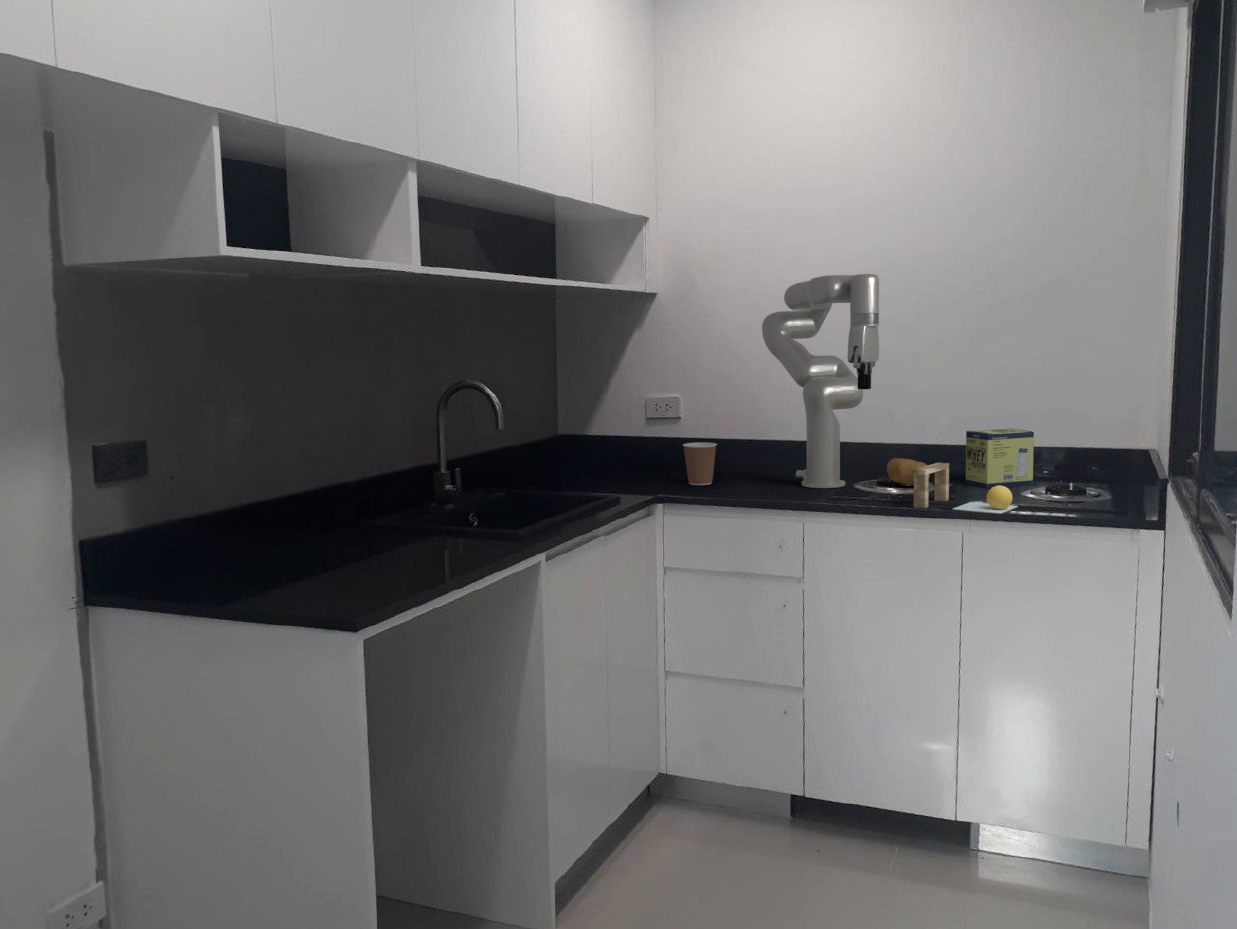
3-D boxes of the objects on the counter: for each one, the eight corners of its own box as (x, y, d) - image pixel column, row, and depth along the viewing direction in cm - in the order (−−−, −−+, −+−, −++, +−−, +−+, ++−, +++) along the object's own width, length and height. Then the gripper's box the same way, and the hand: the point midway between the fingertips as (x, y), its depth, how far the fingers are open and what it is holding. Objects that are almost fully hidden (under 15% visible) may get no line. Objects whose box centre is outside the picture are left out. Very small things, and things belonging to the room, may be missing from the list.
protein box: (964, 484, 301) (965, 430, 299) (1010, 480, 306) (1011, 428, 304) (986, 489, 291) (987, 433, 289) (1034, 485, 296) (1035, 430, 294)
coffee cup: (723, 482, 318) (722, 443, 316) (707, 486, 309) (707, 446, 308) (693, 480, 323) (692, 441, 322) (677, 484, 315) (676, 445, 313)
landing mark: (952, 509, 260) (952, 508, 260) (970, 502, 269) (970, 502, 269) (1000, 513, 253) (1000, 513, 253) (1017, 506, 262) (1017, 505, 262)
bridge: (913, 507, 265) (914, 469, 264) (937, 499, 277) (938, 462, 275) (924, 508, 263) (925, 470, 262) (948, 499, 275) (949, 463, 273)
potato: (914, 491, 290) (915, 462, 289) (878, 485, 303) (878, 458, 302) (939, 488, 295) (940, 460, 294) (903, 482, 307) (903, 455, 306)
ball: (1006, 512, 254) (982, 509, 258) (1015, 509, 259) (991, 506, 263) (1007, 488, 253) (983, 485, 257) (1016, 485, 258) (992, 483, 262)
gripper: (864, 321, 288) (864, 387, 291) (838, 321, 277) (838, 390, 279) (889, 320, 284) (889, 387, 286) (864, 320, 272) (864, 391, 275)
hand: (864, 389), depth 283 cm, fingers closed
